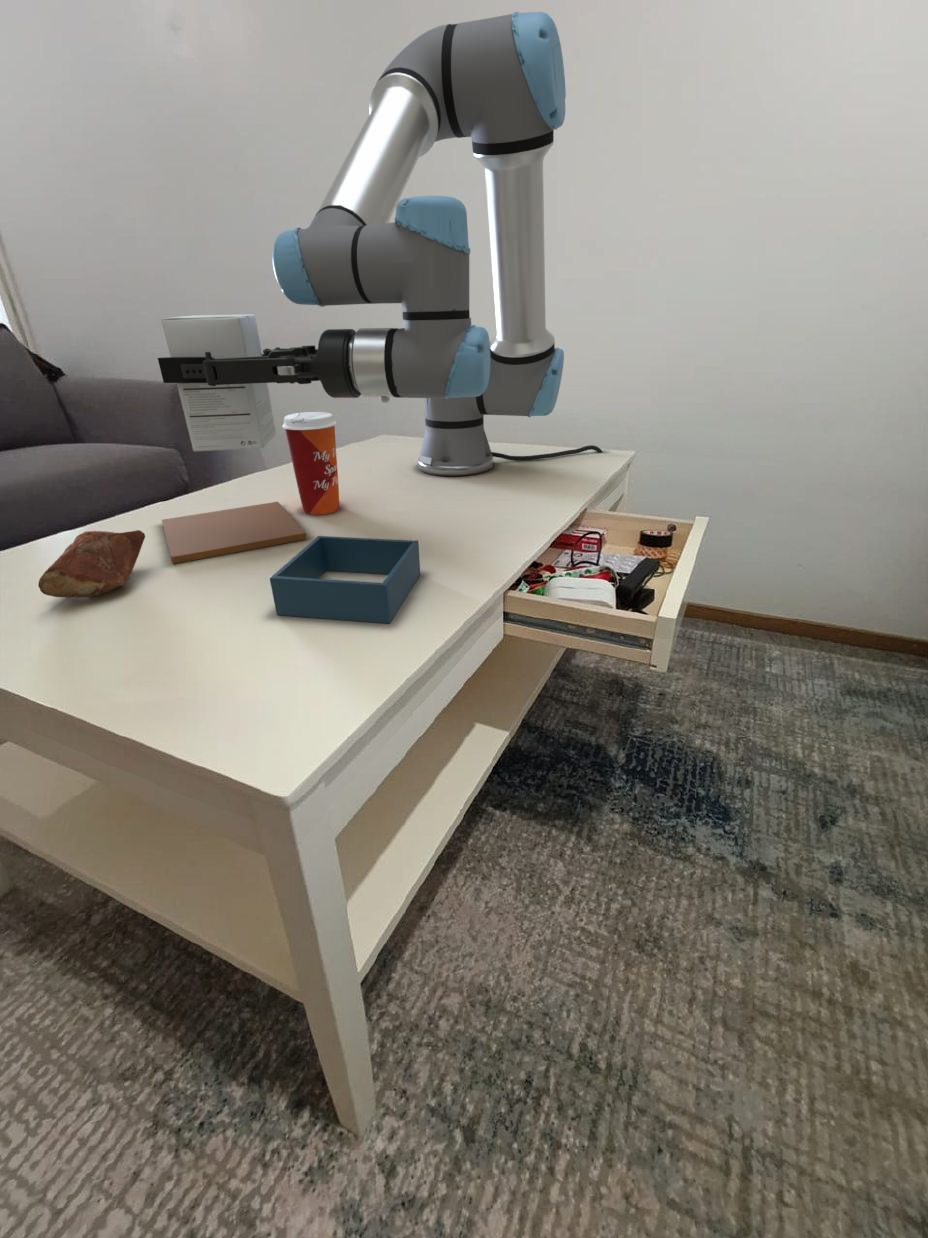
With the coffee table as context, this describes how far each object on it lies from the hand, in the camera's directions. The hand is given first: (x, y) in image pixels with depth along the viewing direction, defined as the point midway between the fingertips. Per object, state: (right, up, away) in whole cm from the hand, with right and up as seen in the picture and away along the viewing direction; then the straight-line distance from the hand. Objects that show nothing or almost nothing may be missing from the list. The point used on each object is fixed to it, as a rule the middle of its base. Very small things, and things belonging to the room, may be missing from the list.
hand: (190, 365), depth 73 cm
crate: (+21, -29, -4) cm, 36 cm away
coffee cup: (+10, -13, +25) cm, 30 cm away
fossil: (-10, -28, -1) cm, 30 cm away
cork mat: (-1, -19, +16) cm, 24 cm away
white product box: (+4, -9, +4) cm, 11 cm away
